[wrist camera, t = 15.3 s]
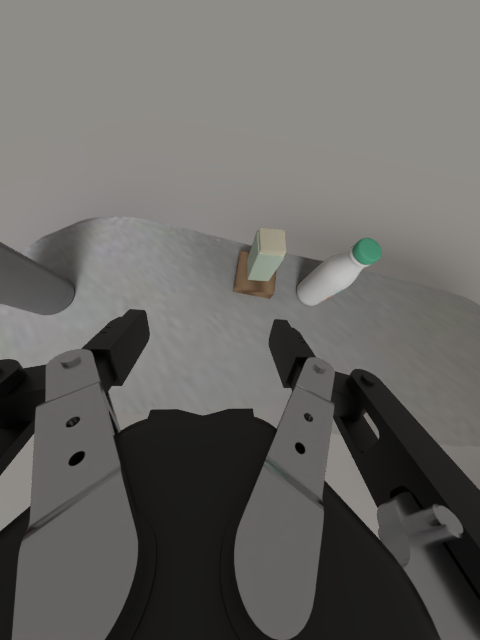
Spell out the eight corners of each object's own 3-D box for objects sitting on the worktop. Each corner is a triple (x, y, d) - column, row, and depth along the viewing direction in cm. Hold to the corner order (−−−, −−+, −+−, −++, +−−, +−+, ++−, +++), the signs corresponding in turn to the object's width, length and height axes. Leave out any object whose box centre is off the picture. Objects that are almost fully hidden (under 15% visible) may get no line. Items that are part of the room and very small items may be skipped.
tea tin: (247, 279, 42) (259, 250, 31) (246, 260, 44) (258, 226, 33) (268, 281, 43) (287, 252, 32) (267, 262, 44) (285, 229, 34)
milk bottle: (305, 310, 47) (369, 275, 28) (290, 287, 48) (342, 237, 29) (325, 299, 49) (399, 258, 29) (311, 276, 50) (373, 223, 31)
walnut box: (233, 292, 45) (234, 285, 41) (238, 259, 48) (240, 250, 44) (269, 299, 46) (274, 293, 43) (272, 267, 49) (277, 258, 45)
